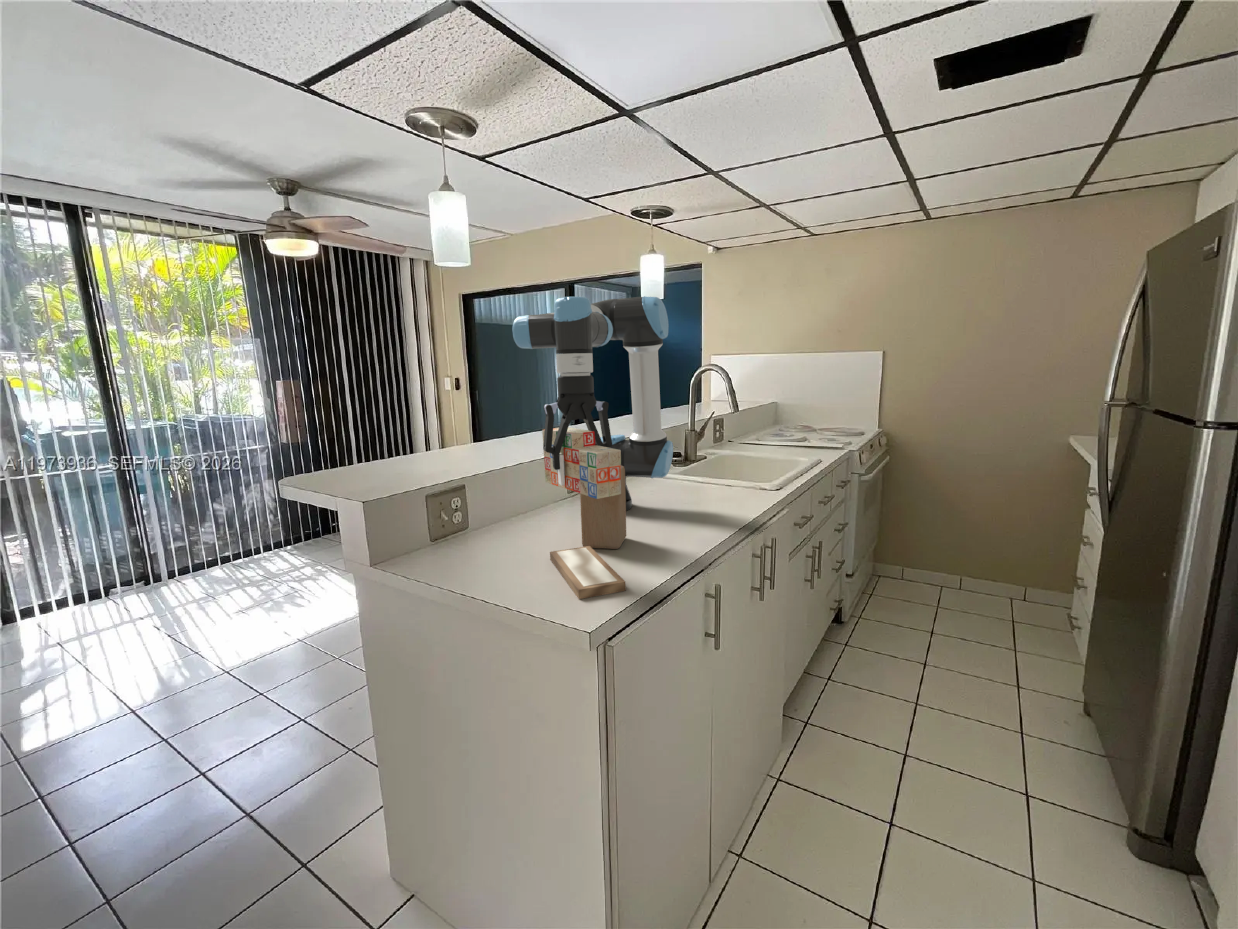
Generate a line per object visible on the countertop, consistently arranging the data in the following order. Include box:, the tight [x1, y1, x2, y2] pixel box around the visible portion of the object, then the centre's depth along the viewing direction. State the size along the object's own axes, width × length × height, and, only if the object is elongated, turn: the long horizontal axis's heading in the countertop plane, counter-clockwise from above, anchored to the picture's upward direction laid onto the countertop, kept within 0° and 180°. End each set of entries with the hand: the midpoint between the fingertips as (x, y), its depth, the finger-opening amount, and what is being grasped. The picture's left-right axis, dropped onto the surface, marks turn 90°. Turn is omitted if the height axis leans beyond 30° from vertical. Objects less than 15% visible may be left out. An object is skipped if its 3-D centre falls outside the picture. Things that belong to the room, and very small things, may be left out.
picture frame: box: [549, 546, 627, 600], centre depth 120 cm, size 10×24×2 cm, turn 21°
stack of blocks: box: [541, 426, 621, 499], centre depth 115 cm, size 21×6×12 cm, turn 36°
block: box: [579, 465, 627, 550], centre depth 138 cm, size 10×10×20 cm
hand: (579, 482), depth 116 cm, fingers closed on stack of blocks, 7 cm apart
